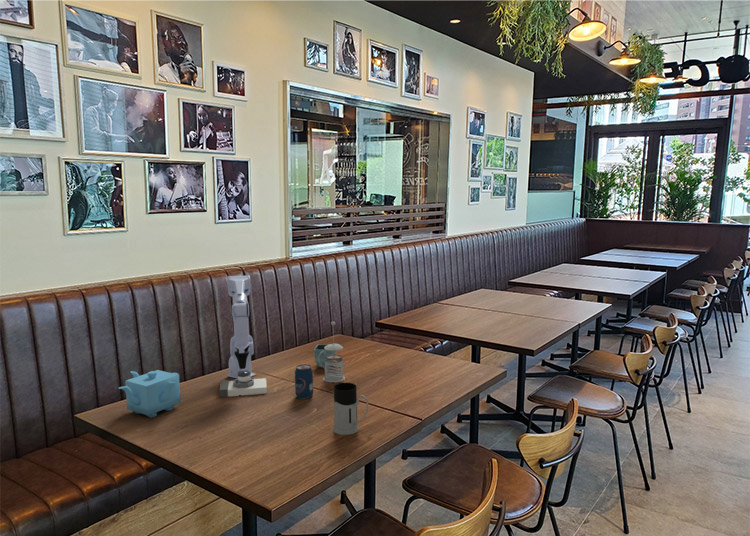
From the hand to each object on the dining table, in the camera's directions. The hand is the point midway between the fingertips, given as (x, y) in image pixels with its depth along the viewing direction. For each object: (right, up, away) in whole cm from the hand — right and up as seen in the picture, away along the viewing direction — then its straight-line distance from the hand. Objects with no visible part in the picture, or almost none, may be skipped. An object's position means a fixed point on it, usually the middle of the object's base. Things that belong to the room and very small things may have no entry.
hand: (242, 365), depth 218 cm
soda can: (+25, -11, -5) cm, 28 cm away
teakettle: (-29, -14, -19) cm, 37 cm away
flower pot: (+30, -6, +32) cm, 44 cm away
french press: (+35, -8, +15) cm, 39 cm away
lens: (0, -8, +1) cm, 8 cm away
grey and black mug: (+45, -16, -37) cm, 61 cm away
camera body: (0, -10, +1) cm, 10 cm away
